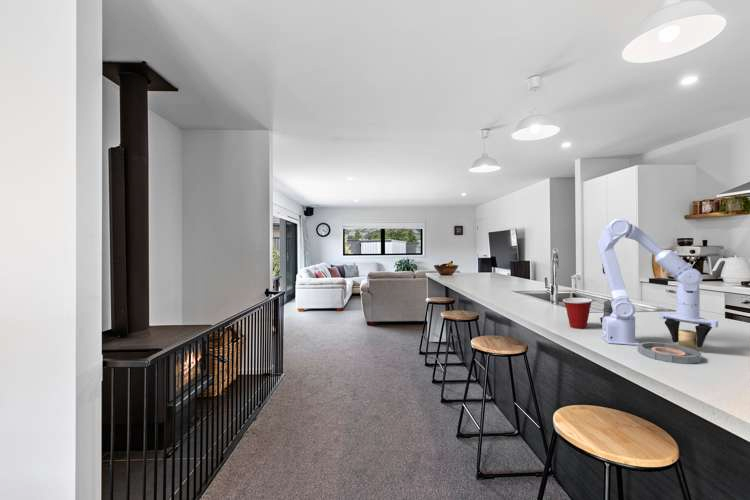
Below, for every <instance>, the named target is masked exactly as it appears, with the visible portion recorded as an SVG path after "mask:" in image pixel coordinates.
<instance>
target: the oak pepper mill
mask: <svg viewBox="0 0 750 500" xmlns="http://www.w3.org/2000/svg"><path fill="white" fill-rule="evenodd" d="M678 333H679V339H678V342H677V345H680V346H684V347H687V348H691V349H694V350H696V351H697V333H696V331H694V330H688V329H679V332H678Z"/></svg>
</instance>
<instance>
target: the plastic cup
mask: <svg viewBox="0 0 750 500" xmlns="http://www.w3.org/2000/svg"><path fill="white" fill-rule="evenodd" d="M562 302H563V303H564V305H565V308H566V314H567V319H568V323H569V327H570V328H573V329H578V330H584V329H587V328H586V327H588V326H587V325H588V321H589V316H590V309H591V305H592V302H593V299H592V298H587V297H568V298H563V299H562Z"/></svg>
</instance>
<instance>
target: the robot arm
mask: <svg viewBox="0 0 750 500" xmlns="http://www.w3.org/2000/svg"><path fill="white" fill-rule="evenodd" d="M623 237H624V238H626V239H628V240H629V239H630V240H633V241H636V242H637V243H638V244H639V245H641V246H642V247H643V248H644V249H646V250H647V251H648V252H650V253H651V254H652V255H653V256H654V261H655V262H656V264H658V265H659V267H661V268H662V269H664V270H665V272H667V273H668V274H670V275H671V276H673V279H674V280H675V281H676V289H675V290H676V291H675V294H676V296H675V297H676V298H675V313H667V312H660V313H659V319H660V320H665V321H664V324H665V326H666V328H667V329H668V331H669V333H670V337H671V340H672V343H673V344H674V343H678V339H679V330H680V323H688V324H693V325H695V326H694V328H695V332H696V333H697V341H696V348H698V349H701V348H703V345H704V342H705V339H706V338H707V336H708V334H709V332H710V331H711V330H712V328H715V329H716V328H718V327H719V320H715V319H708V318H704V317H700V305H701V303H700V302H701V301H700V299H701V298H700V297H701V296H700V295H701V294H700V293H701V292H700V284H701V283H702V281H703V276H702V273H701V272H700V271H699V270H698V269H696V268H693V267H692V264H691V262H686V261H685V259H683V258H682V257H680V256H679V255H680V253H679V252H678V251H676V250H675V251H673V250H671V249H664V248H662V246H660V245H659V244H658V243H657V242H656V241H654V240H653V239H652V237H650V236H649V235H647V234H646V233H645V232H644V231H643V230H641V229H640V228H639V227H638V226H636V225H635V224H633V223H630V222H629V220H627V219H626V218H620V217H619V218H615V219H613V220H611V221H610V222H608V224H607V225H606V226H604V228H603V230H602V232H601V235H600V237H599V239H598V242H597V249H598V252H599V256H600V259H601V262H602V266H603V269H604V274H605V277H606V280H607V284H608V287H609V290H610V296H611V301H610V302H611V307H612V310H613V311H612V314H610V316H608V317H607V316H605V317H603V316H602V317H603V320H602V323H601V326H602V328H601V338H602V339H603V340H604V341H605V342H606V343H608V344H613V345H614V344H617V345H631V346H638V344H640V342H638V341H636V316H635V312H636V306H635V305H634V303H632V301H631V300H630V298H629V295H628V292H627V290H626V287H625V283H624V279H623V276H622V273H621V270H620V266H619V262H618V259H617V255H616V252H615V249H614V246H615V245H616V244H617V243H618V241H619V240H620V239H622V238H623Z"/></svg>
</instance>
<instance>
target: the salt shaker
mask: <svg viewBox="0 0 750 500" xmlns="http://www.w3.org/2000/svg"><path fill="white" fill-rule="evenodd" d="M611 302H612V301H609V298H607V299H606V301H605V300H604V302H603V309H602V311H603V315H602V317H600V318H599V319H600V323H601V324H602V320H603V317H605V316H607V317H608V316H610V314H612V313H613V312H614V311H613V309H612V307H611ZM600 328H601V329H602V325H600Z"/></svg>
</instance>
